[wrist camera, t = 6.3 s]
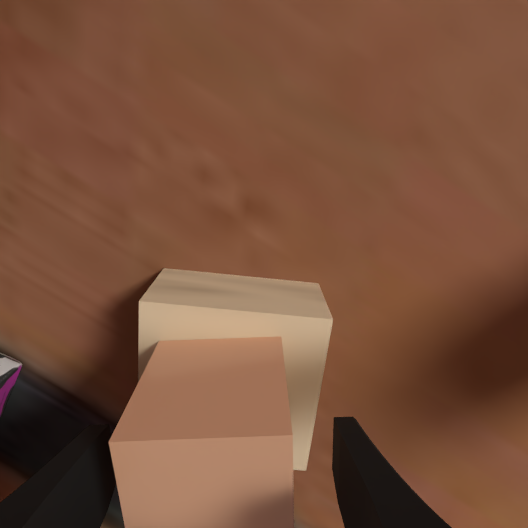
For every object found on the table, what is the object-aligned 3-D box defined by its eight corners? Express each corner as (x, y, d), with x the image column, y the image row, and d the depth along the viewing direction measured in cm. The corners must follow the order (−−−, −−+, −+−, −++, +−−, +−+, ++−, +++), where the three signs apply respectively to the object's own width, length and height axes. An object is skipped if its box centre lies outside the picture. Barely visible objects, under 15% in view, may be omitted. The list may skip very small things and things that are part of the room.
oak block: (297, 407, 20) (306, 470, 16) (161, 395, 20) (137, 457, 16) (317, 281, 18) (333, 319, 14) (165, 266, 17) (138, 301, 14)
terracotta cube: (283, 436, 16) (294, 566, 11) (172, 440, 16) (133, 572, 11) (281, 336, 14) (292, 435, 9) (159, 340, 14) (108, 441, 9)
